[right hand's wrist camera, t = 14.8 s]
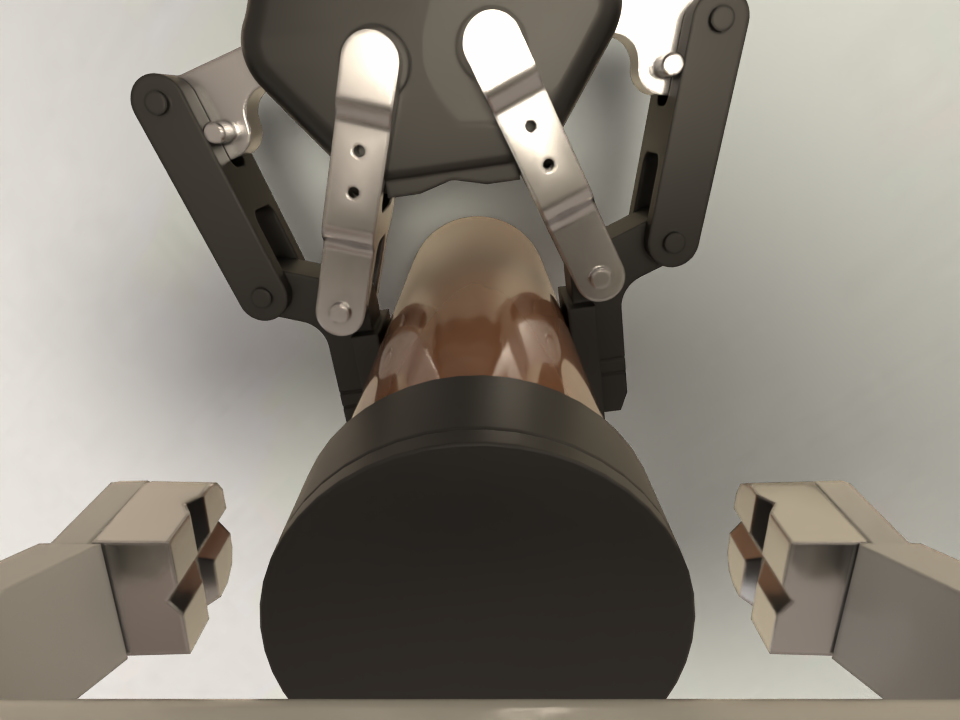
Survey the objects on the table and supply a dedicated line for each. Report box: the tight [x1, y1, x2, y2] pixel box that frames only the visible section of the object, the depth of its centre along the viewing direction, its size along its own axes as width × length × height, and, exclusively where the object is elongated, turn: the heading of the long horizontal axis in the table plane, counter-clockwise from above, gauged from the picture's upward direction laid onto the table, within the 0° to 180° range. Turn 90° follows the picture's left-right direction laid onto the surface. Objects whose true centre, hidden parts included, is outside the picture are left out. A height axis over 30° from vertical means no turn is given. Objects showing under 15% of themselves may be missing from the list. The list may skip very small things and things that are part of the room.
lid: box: [260, 375, 695, 699], centre depth 9 cm, size 5×5×2 cm
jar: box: [352, 216, 603, 418], centre depth 16 cm, size 5×5×16 cm
